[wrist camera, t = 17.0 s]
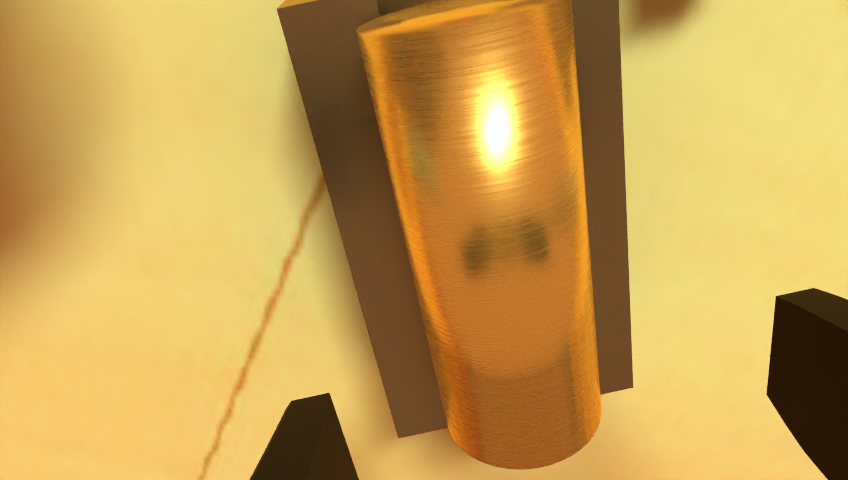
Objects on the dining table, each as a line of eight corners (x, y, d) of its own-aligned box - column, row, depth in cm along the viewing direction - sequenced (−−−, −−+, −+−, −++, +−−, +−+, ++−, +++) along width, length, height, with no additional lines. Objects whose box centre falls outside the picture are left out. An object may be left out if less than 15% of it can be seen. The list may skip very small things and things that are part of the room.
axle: (605, 361, 17) (595, 478, 14) (466, 354, 18) (427, 459, 15) (580, -25, 12) (556, 12, 9) (397, 5, 14) (320, 46, 10)
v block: (591, 319, 21) (633, 387, 18) (392, 363, 21) (398, 438, 18) (563, -65, 15) (616, -64, 12) (292, -7, 15) (277, 8, 12)
